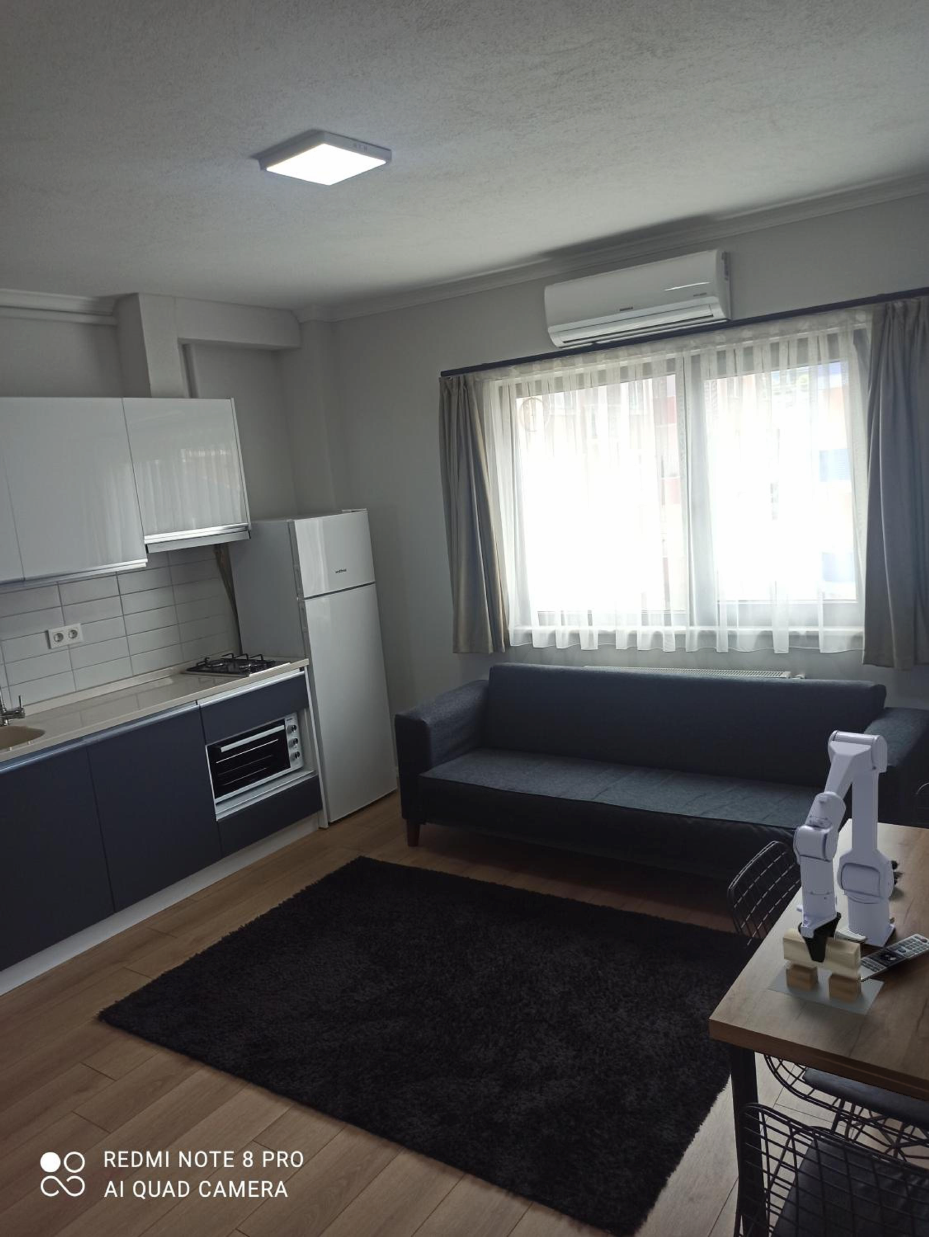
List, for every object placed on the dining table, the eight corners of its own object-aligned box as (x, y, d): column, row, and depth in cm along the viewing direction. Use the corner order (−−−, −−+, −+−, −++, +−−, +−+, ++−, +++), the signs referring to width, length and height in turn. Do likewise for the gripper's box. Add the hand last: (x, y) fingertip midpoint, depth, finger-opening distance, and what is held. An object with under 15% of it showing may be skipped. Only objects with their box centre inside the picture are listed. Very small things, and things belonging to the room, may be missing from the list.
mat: (789, 960, 186) (789, 958, 186) (884, 983, 175) (883, 982, 174) (767, 989, 177) (767, 988, 177) (865, 1016, 165) (865, 1015, 165)
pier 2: (836, 984, 175) (835, 967, 175) (861, 990, 173) (860, 973, 172) (829, 996, 172) (828, 979, 172) (854, 1003, 169) (853, 985, 169)
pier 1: (794, 973, 181) (793, 957, 180) (818, 979, 178) (817, 962, 177) (786, 985, 177) (785, 968, 177) (810, 991, 174) (809, 974, 174)
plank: (791, 949, 180) (790, 927, 179) (861, 966, 171) (859, 943, 171) (784, 958, 177) (782, 937, 176) (854, 976, 168) (853, 953, 168)
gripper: (809, 868, 180) (813, 932, 182) (782, 900, 169) (786, 968, 171) (846, 875, 175) (850, 941, 177) (821, 908, 164) (825, 978, 166)
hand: (821, 955), depth 174 cm, fingers closed on plank, 4 cm apart
